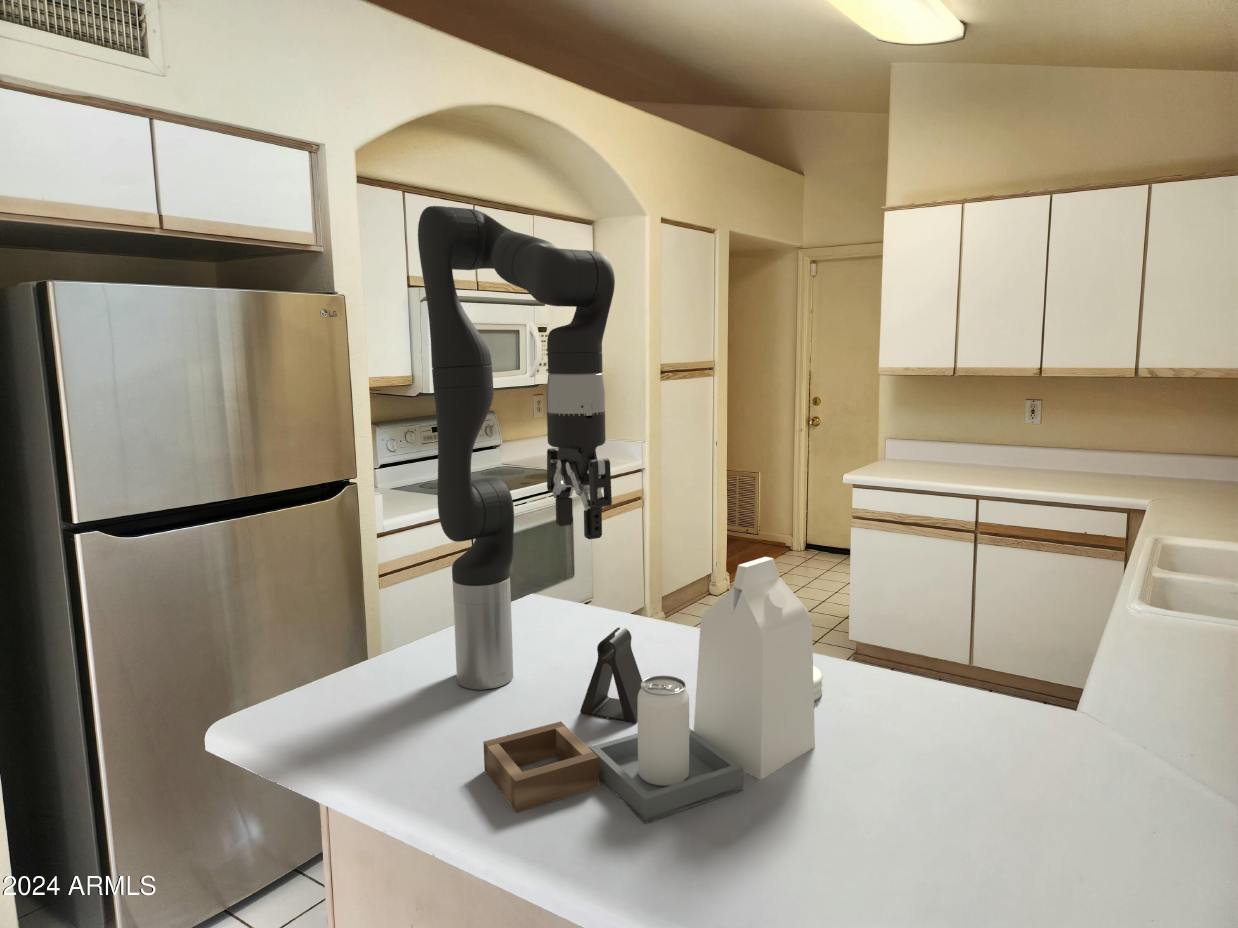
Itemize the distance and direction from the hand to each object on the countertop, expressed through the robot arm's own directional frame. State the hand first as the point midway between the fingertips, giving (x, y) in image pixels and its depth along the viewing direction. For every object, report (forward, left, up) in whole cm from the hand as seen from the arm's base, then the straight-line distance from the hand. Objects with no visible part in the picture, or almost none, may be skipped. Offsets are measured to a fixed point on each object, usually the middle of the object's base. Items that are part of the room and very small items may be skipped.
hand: (578, 531), depth 106 cm
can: (+13, +5, -30) cm, 33 cm away
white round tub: (+1, +36, -31) cm, 47 cm away
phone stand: (-7, +9, -30) cm, 32 cm away
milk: (+12, +20, -30) cm, 38 cm away
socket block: (+5, -8, -30) cm, 32 cm away
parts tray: (+13, +5, -30) cm, 33 cm away
